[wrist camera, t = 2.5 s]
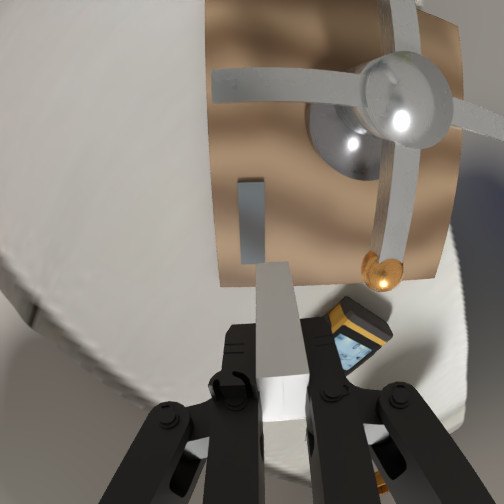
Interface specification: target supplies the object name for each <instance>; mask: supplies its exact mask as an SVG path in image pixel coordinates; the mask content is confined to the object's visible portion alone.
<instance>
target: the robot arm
mask: <svg viewBox="0 0 504 504" xmlns="http://www.w3.org/2000/svg"><path fill="white" fill-rule="evenodd" d="M224 345H225V346H224V352H223V353H224V355H223V361H222V370H221V371H219V372H217V373H216V374H215V375H214V376H213V377H212V378H211V379H210V381H209V384H208V388H209V390H210V393H211V396H212V398H211V399H209V400H208V401H206V402H203V403H201V404H197V405H193V406H189V407H184V406H183V405H182V404H180V403H178V402H171V401H168V402H163V403H160V404H158V405H157V406H155V407H154V408H153V409H152V410H151V411H150V413H149V414H148V416H147V418H146V420H145V421H144V423H143V425H142V427H141V429H140V430H139V432H138V434H137V436H136V437H135V439H134V441H133V443H132V444H131V446H130V448H129V450H128V452H127V454H126V455H125V457H124V459H123V461H122V462H121V464H120V466H119V468H118V469H117V471H116V473H115V475H114V476H113V478H112V480H111V482H110V484H109V486H108V487H107V489H106V491H105V493H104V494H103V496H102V498H101V500H100V502H99V503H98V504H188V503H189V500H190V498H191V495H192V493H193V491H194V489H195V486H196V483H197V481H198V479H199V476H200V474H201V472H202V469H203V467H204V464H205V462H206V459H207V465H206V475H205V485H204V495H203V504H265V483H264V482H265V481H264V480H265V478H264V434H263V422H269V421H283V420H295V419H304V418H305V416H306V422H307V429H306V437H305V441H307V445H308V454H309V463H310V473H311V483H312V494H313V504H381V503H380V497H379V491H378V486H377V482H376V477H375V472H374V468H373V463H372V460H373V462H374V464H375V465H376V467H377V469H378V471H379V473H380V474H381V476H382V478H383V480H384V482H385V484H386V485H387V487H388V489H389V491H390V493H391V494H392V496H393V498H394V500H395V502H396V504H496V503H495V502H494V500H493V499H492V497H491V495H490V494H489V492H488V491H487V489H486V487H485V486H484V484H483V483H482V481H481V480H480V478H479V477H478V475H477V474H476V472H475V471H474V469H473V468H472V466H471V465H470V463H469V462H468V460H467V459H466V457H465V456H464V455H463V453H462V452H461V450H460V449H459V447H458V446H457V444H456V443H455V442H454V440H453V439H452V437H451V436H450V434H449V433H448V432H447V430H446V429H445V428H444V426H443V425H442V423H441V422H440V421H439V419H438V418H437V417H436V415H435V414H434V413H433V411H432V410H431V408H430V407H429V406H428V404H427V403H426V402H425V400H424V399H423V398H422V396H421V395H420V394H419V393H418V391H417V390H416V389H415V388H414V387H413V386H412V385H410V384H407V383H405V382H394V383H390V384H388V385H387V386H386V387H384V388H383V390H382V391H380V390H368V389H362V388H359V387H356V386H354V385H353V384H352V383H350V382H349V381H348V379H347V378H346V376H345V374H344V371H343V367H342V363H341V360H340V356H339V353H338V350H337V346H336V344H335V339H334V337H333V333H332V329H331V326H330V324H329V323H328V322H327V321H326V320H325V319H324V318H323V317H314V318H305V319H300V318H299V313H298V308H297V303H296V298H295V293H294V288H293V283H292V278H291V273H290V268H289V263H288V261H280V262H267V263H256V323H253V324H236V325H231V327H230V328H229V330H228V331H227V333H226V335H225V344H224ZM371 458H372V459H371Z"/></svg>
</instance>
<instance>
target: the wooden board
mask: <svg viewBox="0 0 504 504" xmlns="http://www.w3.org/2000/svg"><path fill="white" fill-rule="evenodd" d="M416 11H417V18H418V25H419V33H420V43H421V55H422V56H424V57H426V58H427V59H429V60H430V61H431V62H432V63H434V64H435V65H436V66H437V67H438V69H439V70H440V71H441V72H442V74H443V75H444V77H445V79H446V80H447V82H448V85H449V87H450V90H451V93H452V97H455V98H458V99H461V100H463V69H462V55H461V46H460V37H459V30H458V26H456V25H454V24H452V23H449V22H447V21H445V20H443V19H440V18H438V17H436V16H433V15H431V14H428V13H426V12H423V11H420V10H418V9H416ZM205 56H206V91H207V116H208V136H209V154H210V170H211V185H212V199H213V212H214V224H215V236H216V247H217V258H218V269H219V279H220V287H256V263H267V262H280V261H288V263H289V268H290V273H291V278H292V283H293V286H304V285H330V284H352V283H365V282H364V280H363V278H362V275H361V264H362V261H363V258H364V257H365V255H366V254H367V253H368V252H369V249H370V243H371V237H372V231H373V224H374V217H375V210H376V202H377V193H378V184H379V179H378V180H373V181H361V180H355V179H351V178H349V177H346V176H344V175H342V174H340V173H339V172H337V171H336V170H334V169H333V168H332V167H330V166H329V165H328V164H326V163H325V162H324V161H323V160H322V159H321V158H320V157H319V156H318V155H317V153H316V152H315V150H314V149H313V147H312V145H311V143H310V141H309V138H308V135H307V131H306V124H305V117H306V110H307V105H308V103H285V102H254V103H228V104H214V103H212V93H211V70H215V69H229V68H255V67H277V68H303V69H318V70H328V71H338V72H345V71H346V70H348V69H350V68H353V67H355V66H358V65H360V64H363V63H365V62H368V61H371V60H373V59H376V58H379V57H382V46H381V33H380V22H379V13H378V5H377V0H205ZM462 131H463V129H462V128H459V127H455V126H450V128H449V130H448V132H447V134H446V135H445V137H444V138H443V139H442V140H441V141H440V142H439V143H437V144H436V145H434V146H432V147H429V148H425V149H421V151H420V161H419V171H418V179H417V187H416V194H415V200H414V207H413V213H412V218H411V224H410V229H409V234H408V239H407V243H406V248H405V252H404V257H403V262H404V275H403V278H402V280H401V281H403V280H417V279H430V278H435V275H436V272H437V268H438V265H439V262H440V258H441V255H442V251H443V247H444V243H445V240H446V236H447V231H448V227H449V223H450V218H451V213H452V208H453V203H454V198H455V192H456V185H457V179H458V172H459V164H460V155H461V144H462Z"/></svg>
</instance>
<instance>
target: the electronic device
mask: <svg viewBox="0 0 504 504" xmlns="http://www.w3.org/2000/svg"><path fill="white" fill-rule="evenodd" d="M323 318H324V319H325V320H326V321H327V322H328V323H329V324H330V326H331V329H332V333H333V337H334V339H335V344H336V346H337V350H338V353H339V356H340V360H341V363H342V367H343V371H344V374H345V376H347V375H349V374H350V373H351V372H353V371H354V370H355V369H356V368H358V367H359V366H360V365H362V364H363V363H364V362H365V361H366V360H368V359H369V358H370V357H371V356H373V355H374V354H375V352H376V351H377V350H379V349H380V348H381V347H382V346H383V345H384V344H385V343H386V342H388V341H389V340H390V339H391V338H392V337H393V333H392V331H391V329H390V327H389V325H388V324H387V322H385V321H384V320H382V319H381V318H379V317H378V316H376V315H375V314H373V313H372V312H370V311H369V310H367V309H366V308H364V307H363V306H361V305H359V304H358V303H356V302H355V301H353V300H352V299H350V298H349V297H345V298H344V299H343V300H342V301H341V302H340V303H339V304H338V305H337V306H336V307H335V308H334V309H333V310H332V311H331V312H330V313H329V314H328V315H327V314H326V315H325V316H324V317H323Z"/></svg>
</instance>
